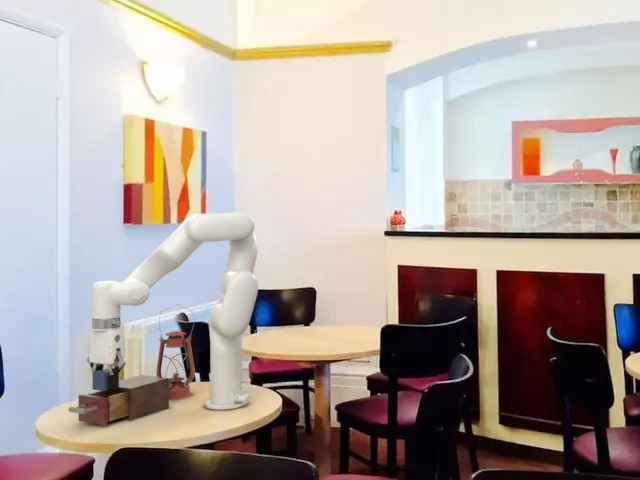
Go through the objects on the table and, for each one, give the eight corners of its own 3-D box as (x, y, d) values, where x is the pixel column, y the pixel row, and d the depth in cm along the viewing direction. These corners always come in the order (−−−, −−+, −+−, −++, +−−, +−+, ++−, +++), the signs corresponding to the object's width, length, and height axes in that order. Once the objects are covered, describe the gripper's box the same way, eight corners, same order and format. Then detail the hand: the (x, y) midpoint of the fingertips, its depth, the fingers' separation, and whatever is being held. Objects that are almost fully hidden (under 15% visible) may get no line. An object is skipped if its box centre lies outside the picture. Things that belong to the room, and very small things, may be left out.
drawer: (88, 430, 186) (88, 402, 186) (62, 425, 190) (63, 399, 191) (142, 412, 202) (142, 387, 202) (117, 408, 207) (117, 384, 207)
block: (119, 387, 198) (119, 369, 198) (104, 391, 194) (104, 373, 194) (107, 385, 201) (107, 368, 201) (92, 389, 196) (92, 371, 196)
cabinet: (130, 420, 198) (130, 388, 198) (102, 415, 203) (102, 384, 203) (169, 407, 211) (168, 378, 211) (141, 403, 216) (141, 374, 216)
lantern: (183, 390, 232) (183, 301, 233) (197, 396, 225) (196, 304, 226) (155, 395, 226) (155, 304, 226) (168, 401, 218) (167, 307, 219)
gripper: (137, 323, 197) (137, 387, 197) (96, 320, 205) (96, 382, 204) (116, 327, 191) (116, 393, 190) (74, 324, 198) (74, 387, 198)
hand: (105, 386), depth 197 cm, fingers closed on block, 5 cm apart
